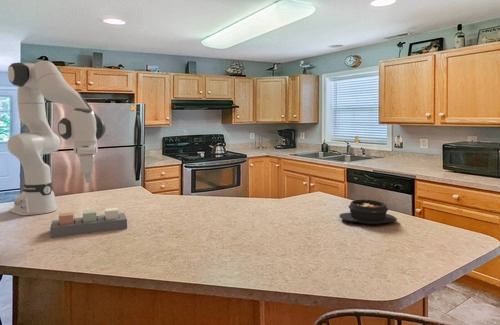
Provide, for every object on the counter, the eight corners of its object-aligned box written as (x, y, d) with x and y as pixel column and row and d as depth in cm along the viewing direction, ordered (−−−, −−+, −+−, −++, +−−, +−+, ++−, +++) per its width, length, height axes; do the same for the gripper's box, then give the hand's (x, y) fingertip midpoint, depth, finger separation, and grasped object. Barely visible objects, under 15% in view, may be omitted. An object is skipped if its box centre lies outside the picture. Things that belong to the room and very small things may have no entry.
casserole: (345, 227, 148) (345, 208, 147) (334, 215, 166) (335, 198, 165) (403, 227, 148) (405, 208, 147) (387, 215, 166) (388, 198, 165)
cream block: (106, 223, 145) (105, 211, 144) (105, 220, 149) (104, 208, 149) (118, 221, 147) (118, 210, 146) (117, 218, 151) (117, 207, 151)
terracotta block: (59, 228, 138) (58, 216, 137) (60, 225, 142) (59, 213, 141) (73, 226, 140) (73, 214, 139) (74, 223, 144) (73, 211, 144)
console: (50, 238, 134) (50, 228, 133) (52, 229, 144) (52, 220, 143) (127, 228, 146) (126, 219, 145) (124, 221, 156) (124, 212, 155)
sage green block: (83, 225, 141) (82, 213, 141) (83, 222, 146) (82, 210, 145) (96, 224, 143) (96, 212, 143) (96, 221, 148) (95, 209, 147)
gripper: (77, 147, 149) (79, 179, 150) (76, 150, 130) (79, 187, 132) (93, 146, 151) (95, 178, 153) (95, 150, 133) (97, 185, 135)
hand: (88, 182), depth 142 cm, fingers closed
